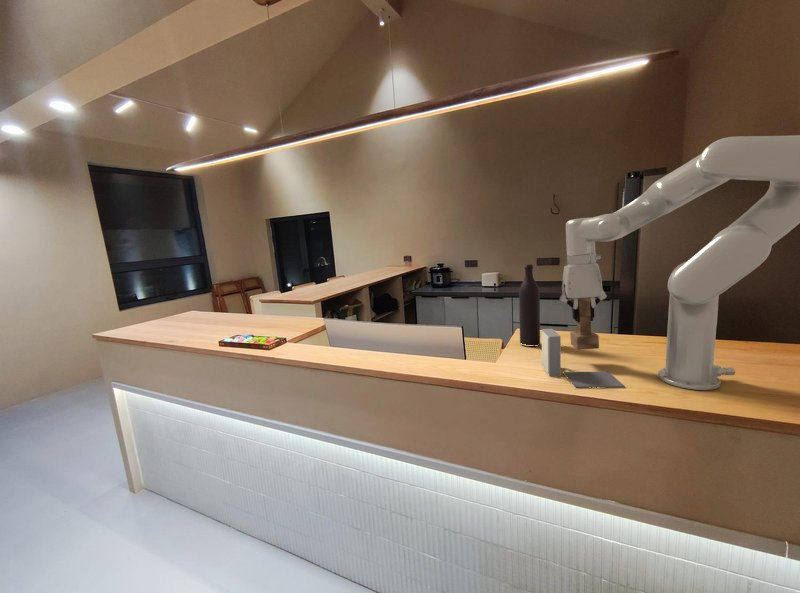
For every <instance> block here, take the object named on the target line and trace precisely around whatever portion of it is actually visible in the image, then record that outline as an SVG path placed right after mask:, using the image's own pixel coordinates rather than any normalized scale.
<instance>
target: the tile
mask: <svg viewBox="0 0 800 593" xmlns="http://www.w3.org/2000/svg"><path fill="white" fill-rule="evenodd" d="M561 337H562V336H561V335H560V334H559V333H558V332H556V330H555V329H553V328H542V329H541V366H542V368H543V369H544V371H545V372H546V373H547V375H548V374H549V375H548V376H549V377H561V375H562V374H561V373H562V372H561V370H562V369H561V367H562V366H561V364H562V363H561V362H562V361H561V358H562V357H561V351H562V349H561V340H562V339H561Z"/></svg>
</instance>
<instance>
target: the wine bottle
mask: <svg viewBox="0 0 800 593" xmlns="http://www.w3.org/2000/svg"><path fill="white" fill-rule="evenodd" d="M533 269H534V265H533V264H531V263H527V264H525V265H524V271H525V272H524V278H523V281H522V283H521V284H520V286H519V291H518V300H519V301H518V305H519V306H518V308H519V309H518V310H519V343H522V344H526V345H538V344H541V305H540V304H541V303H540V301H541V299H540V296H541V295H540V289H539V286H538V283H537V282H536V280H535V277H534V275H533ZM538 346H539V345H538Z"/></svg>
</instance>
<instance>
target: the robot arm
mask: <svg viewBox="0 0 800 593" xmlns="http://www.w3.org/2000/svg"><path fill="white" fill-rule="evenodd" d="M730 180H741V181H743V180H745V181H763V182H766V181H767V182H769V188H768V189H767V191H766V193H765V194H764V195H763V196H762V197H761V198H760V199H759V200H758V201H756V203H755V204H753V205H752V206H751V207H749V209H748V210H746V212H744V213H743V214H742V215H741V216H739V218H737V219H736V220H735V221H733V222H732V223H731V224H729V225H728V226H726V227H725V228H724V229H722V230H720V231H719V232H717V234H715V235H714V236H713V238H712V239H711V240H710V241H709V242H708V243H707V244H706V245H705V246H703V247H702V248H701V249H700V250H699V251H698V252H697V253H696V252H695V254H694V255H693V256H692V257H690V258H689V259H687V261H683V262H682V263H680V264H679V265H677V266H675V268H673V270H672V272H671V273H670V275H669V277H668V281H667V290H668V292H669V300H668V313H667V314H668V315H667V316H668V317H667V318H668V320H667V331H666V332H667V335H666V353H665V368H661V369H659V370H657V371H658V372H657V375H658V376H657V377H658V378H659V379H660V380H661V381H662V382H664V383H667V384H669V385H671V386H675V387H678V388H683V389H687V390H698V391H712V390H716V389H718V388H720V387H721V380H720V378H719V377H721V376H735V375H736V369H735V368H734V367H722V366H721V365H720V364H714V362H715V352H716V351H715V348H716V337H717V336H716V335H717V325H718V314H719V313H718V311H719V299H720V298H719V296H720V295H721V294H723V293H724V292H726V291H727V290H728V289H729V288H731V287H732V286H734V285H735V284H737V283H739V281H741V280H742V279H744V278H745V277H747V276H748V275H749V274H751V272H753V271H754V270H756V269H757V268H758V267H760V266H761V264H763V263H764V262H765V261H766V260H767V258H768V257H769V256H770V254H771V251H772V246H773V245H774V244H776V243H777V242H778V241H779V240H781V239H782V238H784V237H785V236H786V235H788V233H790V232H791V231H793V229H794V228H796V227H797V226H798V225H799V224H800V134H799V135H798V134H797V135H795V134H794V135H760V136H759V135H751V136H749V135H748V136H746V135H745V136H742V135H741V136H728V137H723V138H720V139H718V140H716V141H712V143H710V144H709V145H707V147H705V149H703V151H702V153H700V154H699V155H697V156H695V157H694V158H692V159H690V160H689V161H688V162H686V163H684V164H683V165H681V166H679V167H677V168H676V169H674V170H673V171H671V172H669V173H667V174H666V175H664V176H663V177H661V178H659V179H657V180H656V181H654V182H653V183H652V184H651V185H650V186H649V187H648V188H647V189H646V190H645V191H644V192H643V193H642V194H641V195H639V196H638V197H637V198H635V199H634V200H633V201H630V203H628V204H626V205H624V206H622V207H621V208H620V209H618V210H616V211H615V212H611V213H604V214H601V215H597V216H593V217H592V216H591V217H580V218H579V217H578V218H574V219H570V220H567V222H566V223H565V241H566V244H565V245H566V265H564V266H563V271H562V272H563V274H562V287H561V288H562V292H561V295H560V297H559V300H558V301H561V302H562V303H564V304H567V305H568V306H569V307H570V308H571V311H572V312H571V313H572V315H571V316H572V319H573V320H574V321H576V323H577V322H580V310H579V309H578V299H582V298H590V316H591V322H593V321H594V318H595V308H596V307H597V305H598V304H599V303H600V302H601V301H603V300H605V299H607V297H608V295H607V294H606V293H605V291H604V289H603V281H602V275H601V270H600V266H599V264H598V263H597V261H598V260H601V258H602V257H601V254H597V253H596V242H613V241H616V240H619V239H621V238H623V237H625V236H627V235H629V234H631V233H633V232H635V231H637V230H638V229H640V228H642V227H644V226H645V225H647V224H649V223H651V222H652V221H654V220H657V219H659V218H660V217H663V216H666V215H668V214H669V213H671V212H673V211H675V210H676V209H679V208H680V207H682V206H685V205H686V204H687V203H689V202H691V201H693V200H695V199H696V198H698V197H700V196H703V195H704V194H705V193H708V192H710V191H711V190H714V189H715V188H717V187H720V185H723V184H725V183H727V182H729V181H730Z"/></svg>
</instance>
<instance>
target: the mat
mask: <svg viewBox="0 0 800 593" xmlns="http://www.w3.org/2000/svg"><path fill="white" fill-rule="evenodd" d="M563 374H564V375H565V377H566V378H567V377H568V378H567V379H568V380H569V382H572V383H571V384H572V386H574V388H575V387H576V388H575V389H593V388H592V387H596V388H595V389H598V388H597V387H625V388H626V386H625V385H624V384H623V383H622V382H621V381H620V380H619V379H617V378H616V377H615V376H614V375H613V374H612V373H611V372H610V371H608V370H607V371H606V370H605V371H603V370H602V371H599V370H598V371H564V372H563ZM589 387H591V388H589Z"/></svg>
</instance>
